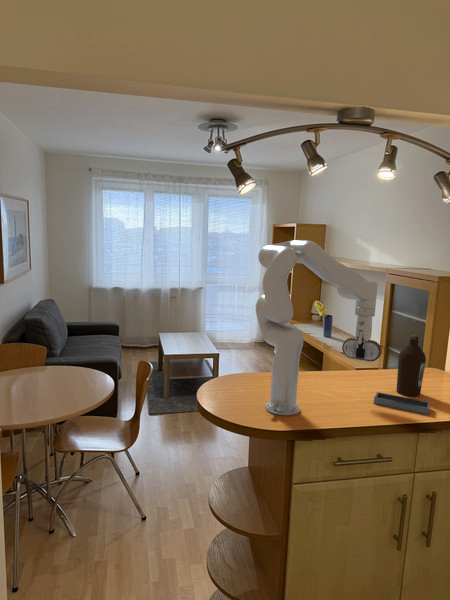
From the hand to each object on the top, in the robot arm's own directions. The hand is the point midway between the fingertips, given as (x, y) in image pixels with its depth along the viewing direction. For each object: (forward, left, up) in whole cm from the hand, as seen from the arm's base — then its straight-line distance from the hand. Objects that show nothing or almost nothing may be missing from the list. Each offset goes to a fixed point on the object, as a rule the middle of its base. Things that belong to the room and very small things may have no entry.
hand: (360, 356), depth 171 cm
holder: (+1, -17, -17) cm, 24 cm away
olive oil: (+19, -18, -17) cm, 31 cm away
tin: (0, 0, -1) cm, 2 cm away
